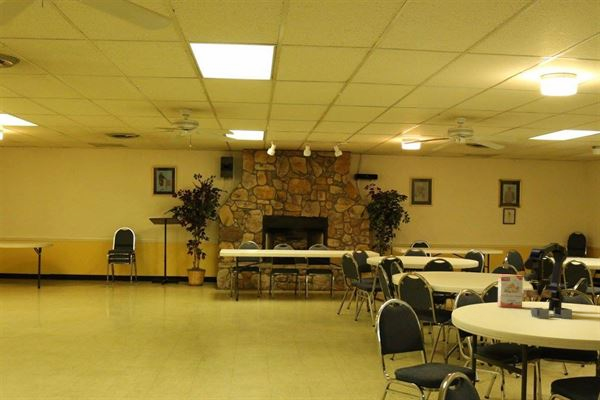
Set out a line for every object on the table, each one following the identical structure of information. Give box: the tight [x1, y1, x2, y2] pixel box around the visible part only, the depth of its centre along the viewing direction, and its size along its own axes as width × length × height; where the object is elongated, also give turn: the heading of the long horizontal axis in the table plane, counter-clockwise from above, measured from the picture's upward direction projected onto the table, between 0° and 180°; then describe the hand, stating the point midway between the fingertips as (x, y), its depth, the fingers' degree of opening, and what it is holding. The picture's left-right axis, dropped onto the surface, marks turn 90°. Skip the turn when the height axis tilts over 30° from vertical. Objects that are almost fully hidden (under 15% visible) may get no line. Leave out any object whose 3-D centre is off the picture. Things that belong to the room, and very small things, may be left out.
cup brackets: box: [530, 307, 573, 320], centre depth 324 cm, size 22×8×5 cm, turn 98°
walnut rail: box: [523, 289, 551, 298], centre depth 339 cm, size 16×4×4 cm, turn 97°
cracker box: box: [497, 273, 524, 309], centre depth 359 cm, size 14×6×21 cm, turn 88°
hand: (537, 294), depth 339 cm, fingers closed on walnut rail, 3 cm apart
